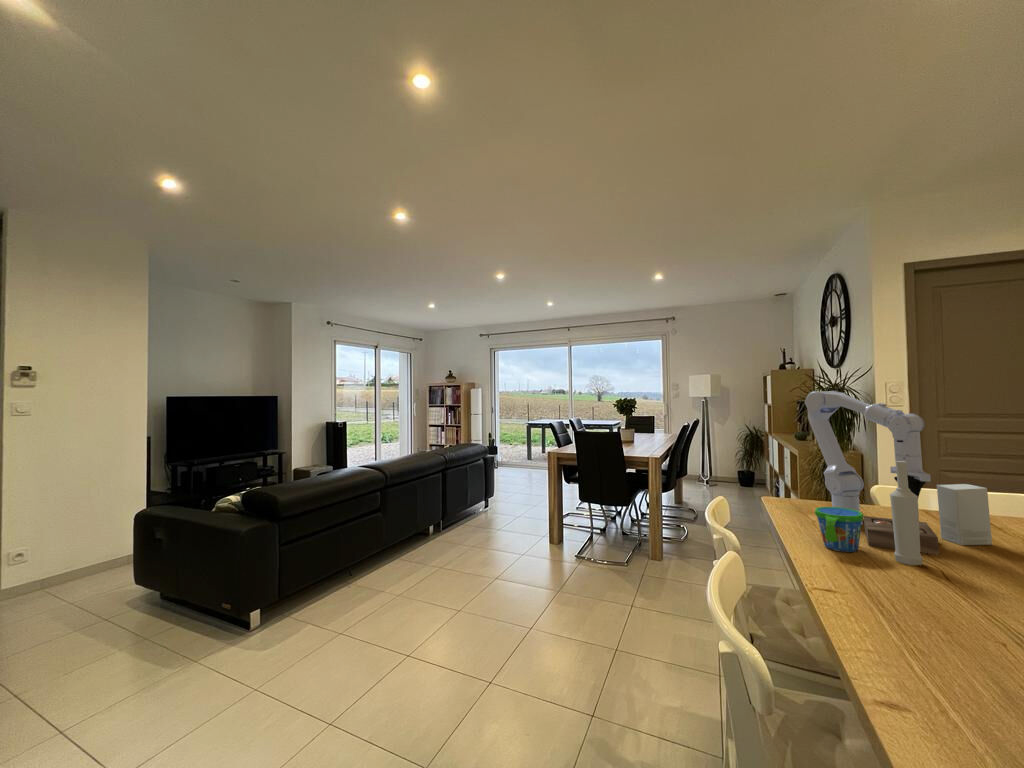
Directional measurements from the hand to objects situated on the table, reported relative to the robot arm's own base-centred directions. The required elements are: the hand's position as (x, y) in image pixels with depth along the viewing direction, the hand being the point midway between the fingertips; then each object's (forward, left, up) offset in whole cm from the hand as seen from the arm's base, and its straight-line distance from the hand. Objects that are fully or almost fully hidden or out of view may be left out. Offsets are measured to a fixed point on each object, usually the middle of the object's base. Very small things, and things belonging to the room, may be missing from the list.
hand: (911, 502), depth 122 cm
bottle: (+24, -4, -11) cm, 27 cm away
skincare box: (-3, +11, -11) cm, 16 cm away
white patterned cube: (+3, -7, -10) cm, 13 cm away
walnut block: (+6, -4, -10) cm, 13 cm away
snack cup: (+20, -17, -11) cm, 29 cm away
